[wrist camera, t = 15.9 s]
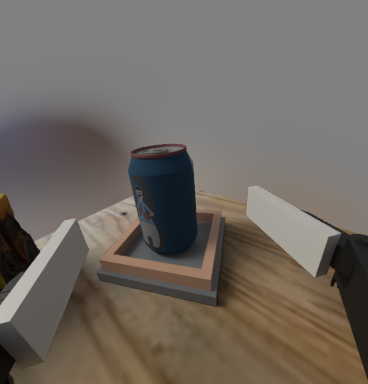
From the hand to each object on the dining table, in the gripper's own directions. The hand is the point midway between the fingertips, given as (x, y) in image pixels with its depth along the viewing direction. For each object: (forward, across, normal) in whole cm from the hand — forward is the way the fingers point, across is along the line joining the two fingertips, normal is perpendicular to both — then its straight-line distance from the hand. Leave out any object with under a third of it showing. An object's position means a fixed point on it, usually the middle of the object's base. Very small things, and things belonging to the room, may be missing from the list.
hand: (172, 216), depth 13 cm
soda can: (+7, 0, -8) cm, 11 cm away
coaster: (+7, 0, -9) cm, 11 cm away
